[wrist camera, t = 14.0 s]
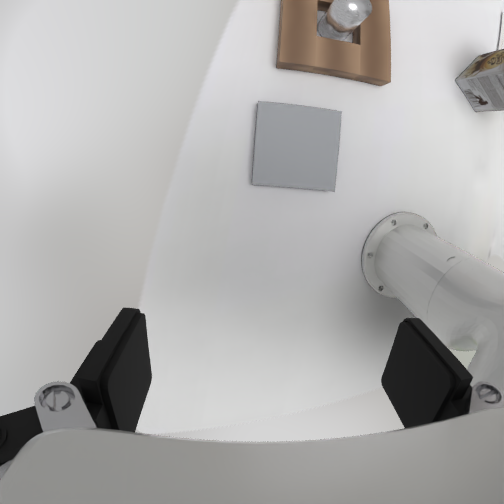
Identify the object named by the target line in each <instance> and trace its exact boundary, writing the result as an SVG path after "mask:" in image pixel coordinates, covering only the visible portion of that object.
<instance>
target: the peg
mask: <svg viewBox="0 0 504 504" xmlns="http://www.w3.org/2000/svg"><path fill="white" fill-rule="evenodd" d="M371 12H372V5H371V2H370V0H334V1H333V3H332V4H331V6H330V7H329V9H328V10H327V12H326V13H325V15H324V16H323V18H322V19H321V21H320V22H319V24H318V31H319V33H320V35H321V36H322V37H325V38H330V39H335V40H340V41H343V40H344V39H345V38H346V37H347V36H348V35H349V34H350V33H351V32H352V31H353V30H354V29H355V28H357V27H358V26H359V25H360V24H361V23H362V22H363V21H364V20H365V19H366V18H367V17H368V16H369V15H370V14H371Z"/></svg>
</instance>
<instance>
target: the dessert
mask: <svg viewBox="0 0 504 504" xmlns="http://www.w3.org/2000/svg"><path fill="white" fill-rule="evenodd" d="M503 36H504V12H503V13H502V23H501V32H500V40H499V47H498V50H501V49H502V44H503Z"/></svg>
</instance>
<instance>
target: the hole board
mask: <svg viewBox="0 0 504 504" xmlns="http://www.w3.org/2000/svg"><path fill="white" fill-rule="evenodd" d="M333 1H334V0H281V9H280V24H279V39H278V54H277V68H281V69H289V70H297V71H305V72H312V73H318V74H324V75H330V76H336V77H341V78H346V79H351V80H356V81H361V82H365V83H370V84H374V85H378V86H383V85H385V84H387V83H390V82H391V38H390V14H389V0H370V2H371V5H372V12H371V14H370V15H369V16H368V17H367V18H366V19H365V20H364V21H363V22H362V23H361V24H360V25H359V26H358V27H357V28H355V29H354V30H353V43H350V42H345V41H340V40H335V39H330V38H325V37H319V36H317V10H321V11H326V12H327V10H328V9H329V7H330V6H331V4H332V3H333Z"/></svg>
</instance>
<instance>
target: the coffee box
mask: <svg viewBox="0 0 504 504" xmlns="http://www.w3.org/2000/svg"><path fill="white" fill-rule="evenodd" d="M455 81H456V83H457V84H458V85H459V87H460V88H461V90H462V91H463V93H464V95H465V96H466V98H467V99H468V101H469V102H470V104H471V106H472V107H473V109H474V110H475V112H480V111H501V110H504V49H501V50H497V51H494V52H490V53H486V54H483V55H480V56H478V57H477V58H476V59H475V60H474V61H473V62H472V63H471V64H470V65H469V66H468V67H467V69H466V70H465V71H464V72H463V73H462V74H461V75H460V76H459V77H458V78H457V79H456V80H455Z"/></svg>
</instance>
